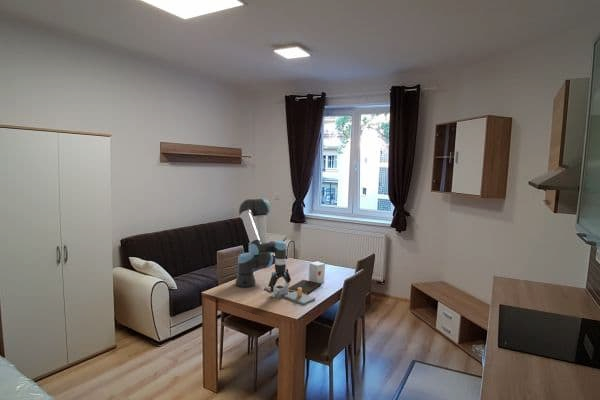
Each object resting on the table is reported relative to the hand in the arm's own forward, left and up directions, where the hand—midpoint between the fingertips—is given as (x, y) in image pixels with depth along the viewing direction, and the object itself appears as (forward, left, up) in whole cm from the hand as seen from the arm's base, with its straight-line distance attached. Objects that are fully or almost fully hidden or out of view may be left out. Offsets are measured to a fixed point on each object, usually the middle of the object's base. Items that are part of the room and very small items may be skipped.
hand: (279, 293), depth 238 cm
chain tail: (-11, +2, -1) cm, 11 cm away
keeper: (+14, +5, -1) cm, 15 cm away
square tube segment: (0, 0, -1) cm, 1 cm away
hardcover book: (+3, +24, -2) cm, 25 cm away
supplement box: (0, +41, -2) cm, 41 cm away
